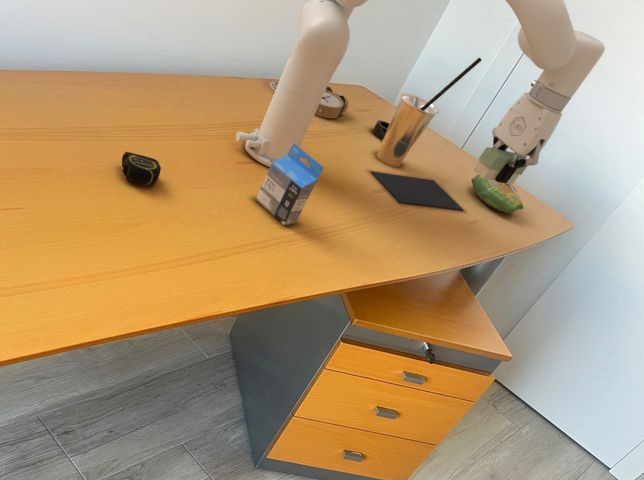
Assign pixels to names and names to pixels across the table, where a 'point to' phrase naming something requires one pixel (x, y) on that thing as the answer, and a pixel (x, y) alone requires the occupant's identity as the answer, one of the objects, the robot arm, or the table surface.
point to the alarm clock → (331, 104)
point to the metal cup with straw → (410, 123)
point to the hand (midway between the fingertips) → (494, 175)
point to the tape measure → (140, 168)
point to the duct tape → (380, 129)
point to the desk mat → (416, 191)
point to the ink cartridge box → (289, 185)
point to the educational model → (497, 194)
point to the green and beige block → (495, 164)
